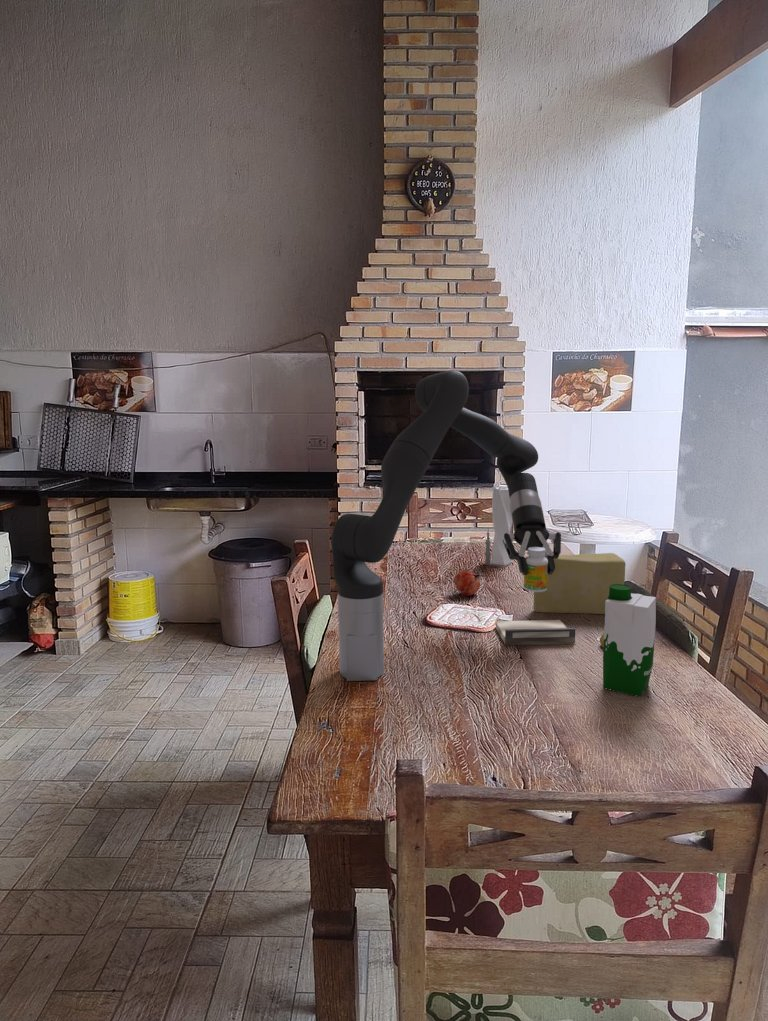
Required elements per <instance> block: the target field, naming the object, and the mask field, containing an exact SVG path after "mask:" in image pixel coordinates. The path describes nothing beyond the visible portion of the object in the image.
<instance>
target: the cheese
mask: <svg viewBox="0 0 768 1021" xmlns="http://www.w3.org/2000/svg"><path fill="white" fill-rule="evenodd" d="M554 563H555V570H554V572H553V573H552V575H549V574H548V582H547V590H546V591H543V592H533V603H532V604H533V611H534V612H536V613H545V614H546V613H551V614H555V613H557V614H583V613H584V614H587V615H589V614H590V615H592V614H593V615H605V601H606V600H607V598H608V595H609V588H610V585H613V584H622V585H625V580H626V561H625V560H624V558H622V557H620V556H619V555H617V554H616V553H614V552H605V553H582V554H581V553H580V554H565V555H564V554H562V555H561V554H559V557H558V558H557V559H554Z"/></svg>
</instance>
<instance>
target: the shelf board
mask: <svg viewBox="0 0 768 1021" xmlns="http://www.w3.org/2000/svg"><path fill="white" fill-rule="evenodd" d="M494 623H495V625H496V627H495V630H496V631H497V633H498V635H499V636H500V638H501V639H502V641H503V643H504V645H505V646H523V645H524V646H526V645H527V646H529V645H530V646H531V645H572V644H571V643H575V644H576V630H577V629H576V628H575V627H567V626H566V624H564V622H562V621H561V619H539V620H537V619H536V620H498V621H497V620H496V621H495V622H494Z"/></svg>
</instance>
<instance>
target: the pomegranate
mask: <svg viewBox="0 0 768 1021" xmlns="http://www.w3.org/2000/svg"><path fill="white" fill-rule="evenodd" d="M479 577H482V575H481V574H479V573H478V574H475V573H474V571H468V570H467V569H466V570H465V569H463V570H461V571H458V573H456V574H455V575H454V578H453V582H454V584H455V588H456V590H454V591H453V593H456V592H457V591H459V592H460V594H461V595H462V596H465V597H470V596H473V595H474V594H477V592H478V591H479V590H480V588H481V581H480V579H479Z"/></svg>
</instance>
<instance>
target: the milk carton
mask: <svg viewBox="0 0 768 1021" xmlns="http://www.w3.org/2000/svg"><path fill="white" fill-rule="evenodd" d="M656 607H657V597H656V596H650V595H649V596H648V595H643V594H642V593H641V594H640V593H632V587H631V586H630V585H627V584H624V585H622V584H613V585H610V588H609V595H608V598H607V600H606V601H605V614H604V630H603V631H604V633H603V634H604V648H603V652H602V687H603V688H607V689H606V690H608V689H611V690H610V691H612V690H614V692H617V691H619V692H618V693H621V692H623V694H626V693H628V694H627V695H630V694H632V695H631V696H635V695H637V696H636V697H639V696H641V695H643V693H644V692H645V690H646V688H647V687H648V685H649V683H650V678H651V674H652V670H653V666H654V657H655V656H654V655H655V654H654V652H655V639H656V638H655V637H656V625H657V624H656V621H657V620H656V619H657V617H656V616H657V615H656V614H657V613H656V612H657V609H656ZM603 688H602V689H603ZM641 697H642V696H641Z"/></svg>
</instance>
